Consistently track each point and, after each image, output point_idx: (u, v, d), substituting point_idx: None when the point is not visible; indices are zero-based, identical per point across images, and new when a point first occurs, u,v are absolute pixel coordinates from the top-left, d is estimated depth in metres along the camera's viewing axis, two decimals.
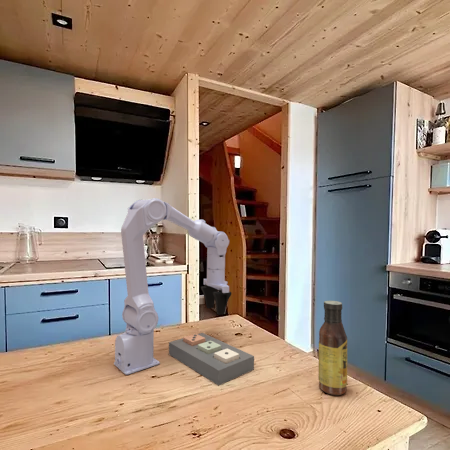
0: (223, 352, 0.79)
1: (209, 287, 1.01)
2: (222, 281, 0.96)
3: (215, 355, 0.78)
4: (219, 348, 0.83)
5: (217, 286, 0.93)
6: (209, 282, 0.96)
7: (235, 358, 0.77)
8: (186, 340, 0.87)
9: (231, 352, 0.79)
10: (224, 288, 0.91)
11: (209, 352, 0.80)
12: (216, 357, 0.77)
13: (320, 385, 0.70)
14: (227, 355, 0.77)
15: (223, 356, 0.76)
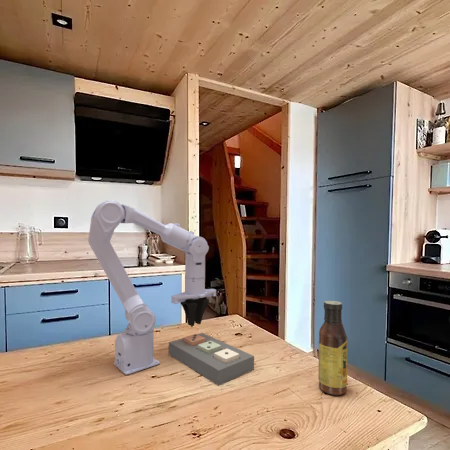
0: (223, 352, 0.79)
1: (197, 299, 0.90)
2: (189, 292, 0.86)
3: (215, 355, 0.78)
4: (219, 348, 0.83)
5: None
6: None
7: (235, 358, 0.77)
8: (186, 340, 0.87)
9: (231, 352, 0.79)
10: (172, 297, 0.84)
11: (209, 352, 0.80)
12: (216, 357, 0.77)
13: (320, 385, 0.70)
14: (227, 355, 0.77)
15: (223, 356, 0.76)
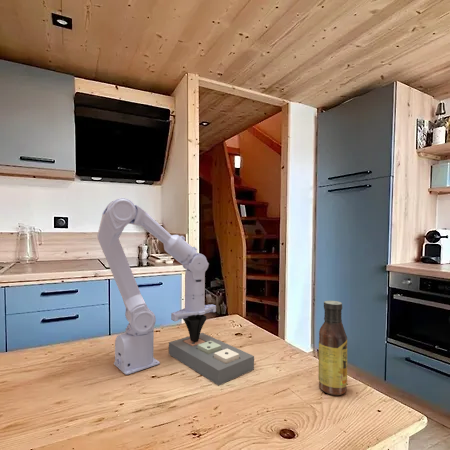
0: (223, 352, 0.79)
1: None
2: (189, 309, 0.86)
3: (215, 355, 0.78)
4: (219, 348, 0.83)
5: None
6: None
7: (235, 358, 0.77)
8: None
9: (231, 352, 0.79)
10: (171, 315, 0.84)
11: (209, 352, 0.80)
12: (216, 357, 0.77)
13: (320, 385, 0.70)
14: (227, 355, 0.77)
15: (223, 356, 0.76)
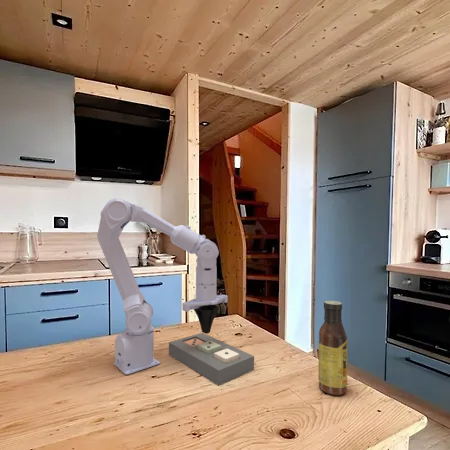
0: (223, 352, 0.79)
1: None
2: (201, 299, 0.82)
3: (215, 355, 0.78)
4: (219, 348, 0.83)
5: None
6: None
7: (235, 358, 0.77)
8: None
9: (231, 352, 0.79)
10: (183, 305, 0.80)
11: (209, 352, 0.80)
12: (216, 357, 0.77)
13: (320, 385, 0.70)
14: (227, 355, 0.77)
15: (223, 356, 0.76)
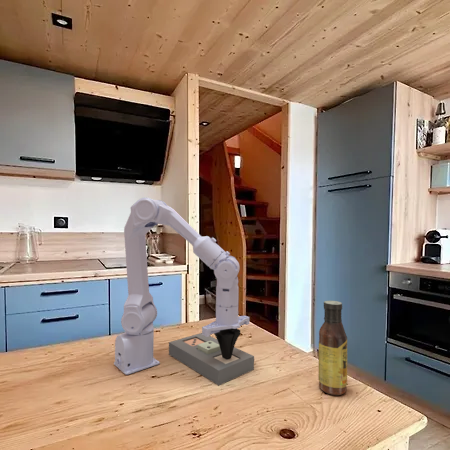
0: None
1: None
2: (222, 322, 0.75)
3: None
4: (219, 348, 0.83)
5: None
6: None
7: None
8: None
9: (231, 357, 0.79)
10: (202, 329, 0.74)
11: (209, 352, 0.80)
12: None
13: (320, 385, 0.70)
14: (227, 360, 0.77)
15: (223, 360, 0.76)
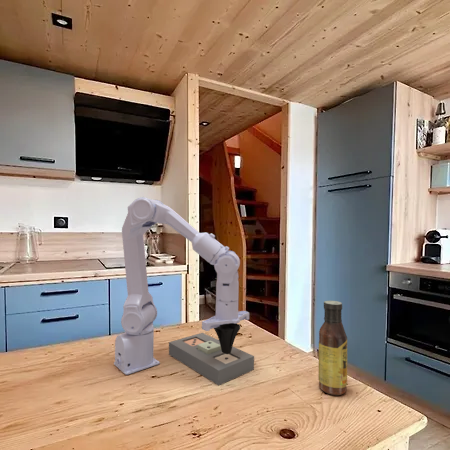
0: (223, 357, 0.79)
1: None
2: (222, 317, 0.75)
3: None
4: (219, 348, 0.83)
5: None
6: None
7: None
8: None
9: (231, 357, 0.79)
10: (202, 323, 0.74)
11: (209, 352, 0.80)
12: None
13: (320, 385, 0.70)
14: (227, 360, 0.77)
15: (223, 361, 0.76)
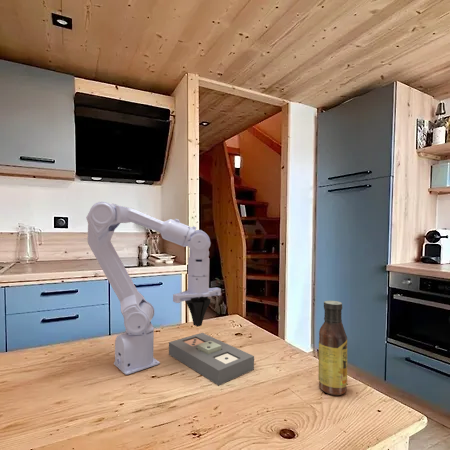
0: (223, 357, 0.79)
1: None
2: (192, 290, 0.80)
3: None
4: (219, 348, 0.83)
5: None
6: None
7: None
8: None
9: (231, 357, 0.79)
10: (173, 296, 0.78)
11: (209, 352, 0.80)
12: None
13: (320, 385, 0.70)
14: (227, 360, 0.77)
15: (223, 361, 0.76)
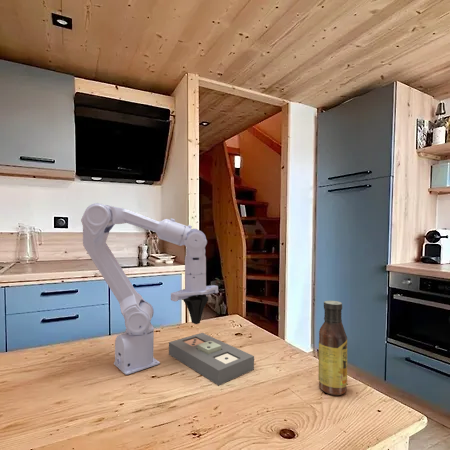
0: (223, 357, 0.79)
1: None
2: (190, 289, 0.81)
3: None
4: (219, 348, 0.83)
5: None
6: None
7: None
8: None
9: (231, 357, 0.79)
10: (171, 295, 0.79)
11: (209, 352, 0.80)
12: None
13: (320, 385, 0.70)
14: (227, 360, 0.77)
15: (223, 361, 0.76)
